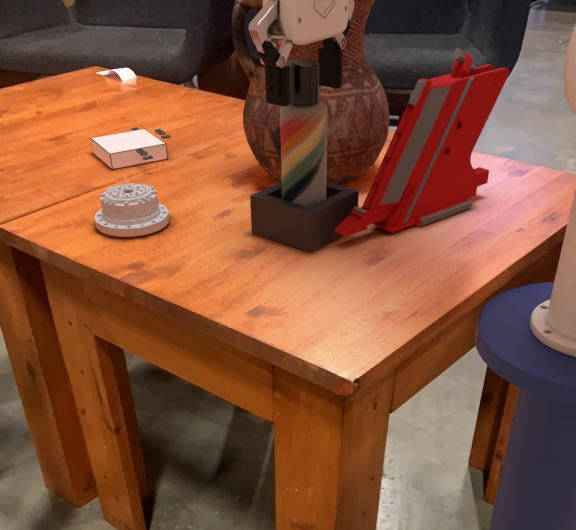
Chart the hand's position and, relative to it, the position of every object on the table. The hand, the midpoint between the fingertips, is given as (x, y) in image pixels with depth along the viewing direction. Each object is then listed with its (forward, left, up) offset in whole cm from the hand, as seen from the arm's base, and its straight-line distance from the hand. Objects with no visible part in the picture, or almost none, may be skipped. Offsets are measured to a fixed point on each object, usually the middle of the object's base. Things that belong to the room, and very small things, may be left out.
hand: (304, 95), depth 91 cm
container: (+42, -8, -17) cm, 46 cm away
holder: (0, 0, -16) cm, 16 cm away
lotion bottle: (0, 0, -17) cm, 17 cm away
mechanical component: (+20, +12, -17) cm, 29 cm away
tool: (-10, -12, -17) cm, 23 cm away
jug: (+12, -18, -17) cm, 27 cm away
